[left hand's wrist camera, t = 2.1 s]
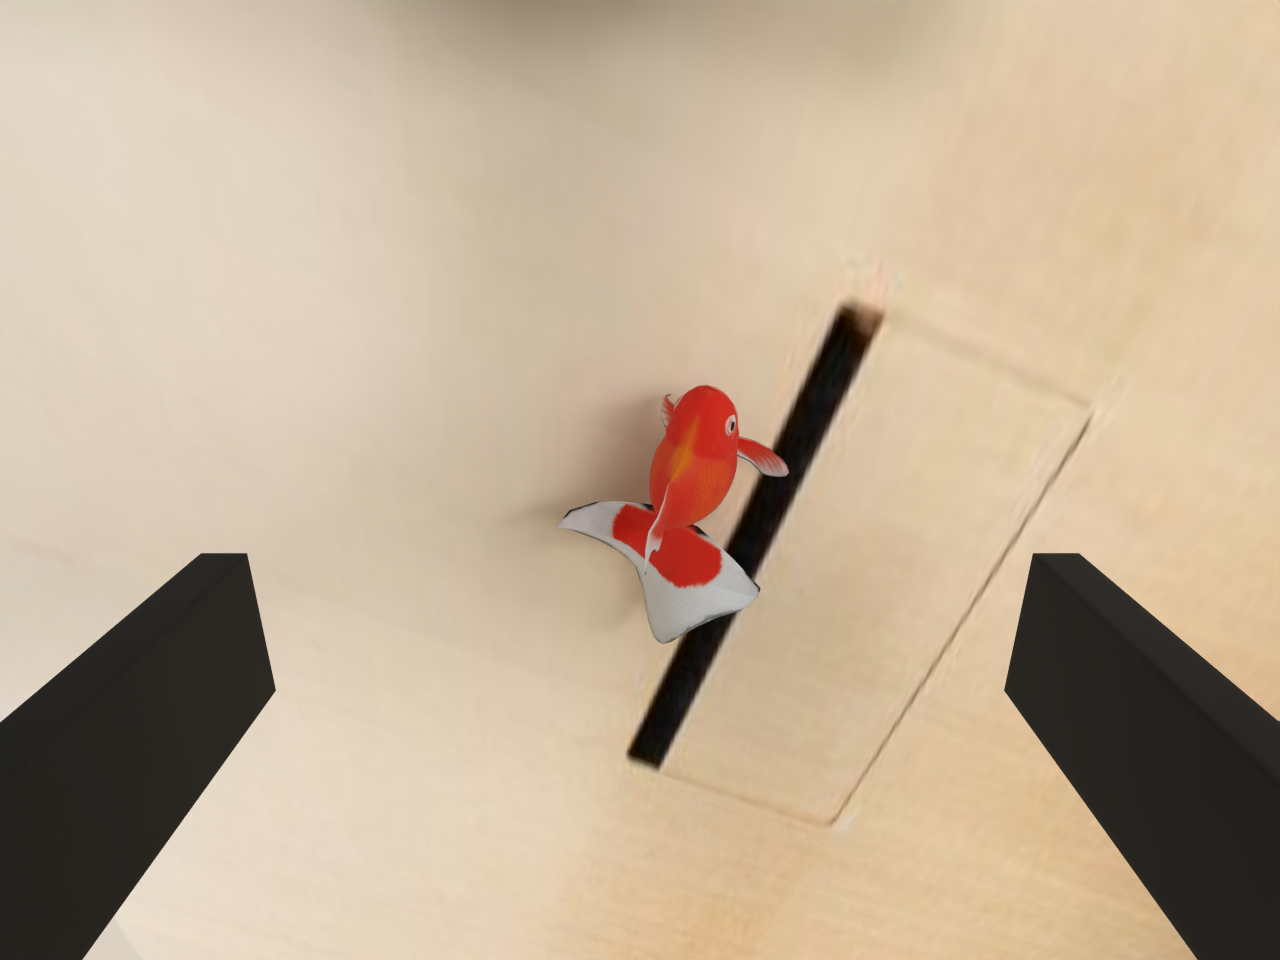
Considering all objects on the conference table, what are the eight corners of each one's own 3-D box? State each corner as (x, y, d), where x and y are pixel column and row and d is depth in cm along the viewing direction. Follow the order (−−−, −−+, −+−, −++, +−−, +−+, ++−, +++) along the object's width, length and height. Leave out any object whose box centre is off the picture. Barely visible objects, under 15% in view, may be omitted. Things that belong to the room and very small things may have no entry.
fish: (883, 448, 38) (819, 562, 31) (732, 606, 48) (659, 718, 41) (712, 320, 39) (613, 400, 32) (602, 502, 50) (509, 592, 42)
